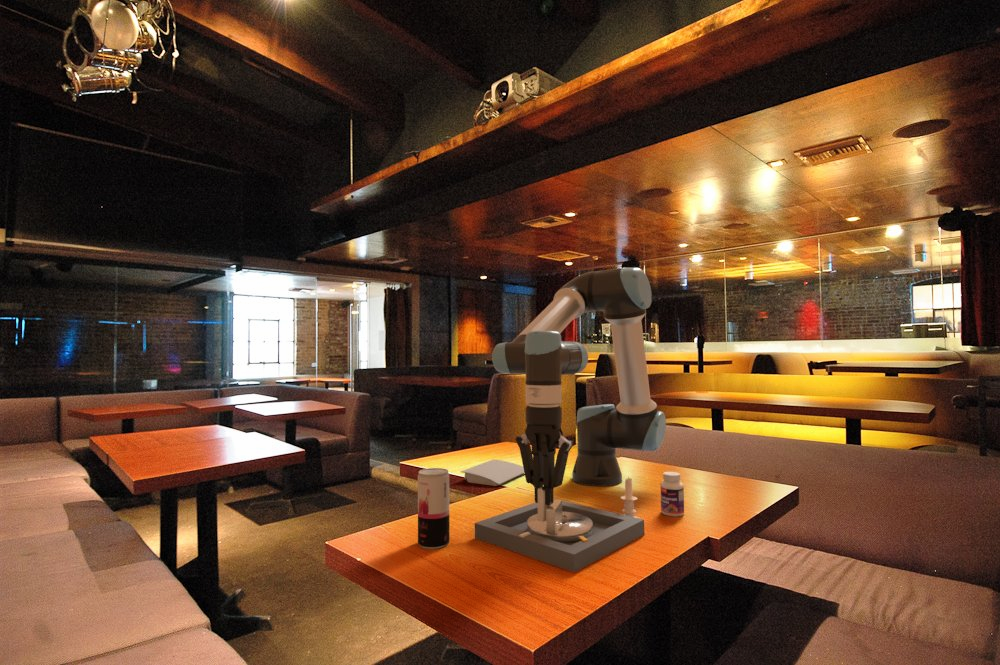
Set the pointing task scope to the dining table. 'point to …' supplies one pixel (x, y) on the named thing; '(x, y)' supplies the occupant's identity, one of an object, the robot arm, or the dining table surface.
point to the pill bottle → (672, 495)
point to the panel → (571, 556)
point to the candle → (629, 499)
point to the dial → (560, 525)
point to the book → (493, 472)
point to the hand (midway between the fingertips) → (544, 519)
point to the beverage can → (433, 508)
